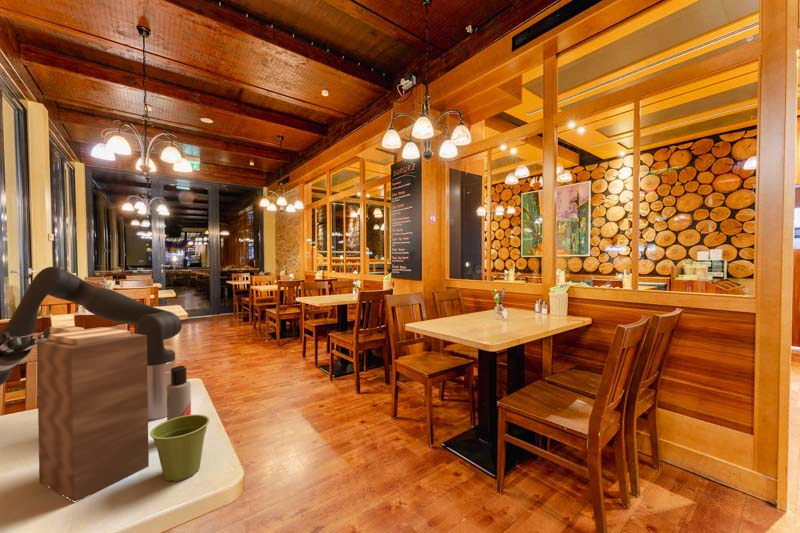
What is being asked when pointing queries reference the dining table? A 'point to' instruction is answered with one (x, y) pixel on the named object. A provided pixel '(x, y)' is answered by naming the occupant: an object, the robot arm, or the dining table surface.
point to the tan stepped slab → (84, 334)
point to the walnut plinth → (92, 413)
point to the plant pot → (180, 445)
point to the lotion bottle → (178, 394)
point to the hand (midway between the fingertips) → (30, 332)
